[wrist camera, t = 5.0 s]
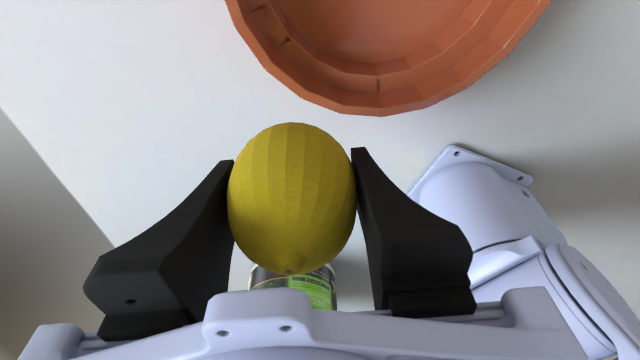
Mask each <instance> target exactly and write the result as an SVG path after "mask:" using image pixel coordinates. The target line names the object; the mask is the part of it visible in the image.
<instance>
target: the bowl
mask: <svg viewBox="0 0 640 360" xmlns="http://www.w3.org/2000/svg"><path fill="white" fill-rule="evenodd" d="M225 2H226V5H227V8H228V10H229V13H230V16H231V19H232V21H233V24H234V26H235V28H236V30H237V31H238V32H239V34H240V35H241V37H242V38H243V39H244V41H245V42H246V44H247V45H248V47H249V48H250V49H251V51H252V52H253V54H254V55H255V56H256V58H257V59H258V61H259V62H260V63H261V65H262V66H263V68H264V69H265V70H266V71H267V72H269V73H270V74H271V75H272V76H274V77H275V78H276V79H277V80H279V81H280V82H281V83H283V84H284V85H285V86H286V87H288V88H289V89H290V90H291V91H293V92H294V93H295V94H297V95H298V96H299V97H300V98H302V99H304V100H307V101H309V102H312V103H314V104H317V105H320V106H322V107H325V108H327V109H330V110H333V111H335V112H338V113H342V114H351V115H364V116H377V117H382V116H383V117H385V116H390V115H395V114H400V113H405V112H410V111H415V110H420V109H424V108H427V107H429V106H431V105H433V104H435V103H438V102H440V101H442V100H444V99H446V98H448V97H450V96H452V95H454V94H456V93H458V92H460V91H462V90H464V89H467V88H468V87H469V86H471V85H472V84H473V83H474V82H476V81H477V80H478V79H479V78H481V77H482V76H483V75H484V74H486V73H487V72H488V71H489V70H490V69H492V68H493V67H494V66H495V65H497V64H498V63H499V62H500V61H502V60H503V59H504V58H505V57H507V56H508V55H509V53H511V52H512V51H513V49H514V48H515V47H516V46H517V44H518V43H519V42H520V41H521V39H522V38H523V37H524V36H525V34H526V33H527V32H528V31H529V30H530V28H531V27H532V26H533V25H534V23H535V22H536V21H537V20H538V18H539V17H540V16H541V15H542V13H543V12H544V11H545V10H546V8H547V7H548V5H549V4H550V2H551V0H225Z"/></svg>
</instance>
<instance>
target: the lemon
mask: <svg viewBox="0 0 640 360" xmlns="http://www.w3.org/2000/svg"><path fill="white" fill-rule="evenodd" d="M357 201H358V190H357V184H356V179H355V174H354V169H353V166H352V164H351V162H350V160H349V158H348V156H347V154H346V153H345V151H344V149H343V148H342V146H341V145H340V144H339V143H338V142H337V141H336V140H335V139H334V138H333V137H332V136H331V135H329V134H328V133H327V132H325V131H323V130H321V129H319V128H318V127H315V126H312V125H308V124H305V123H294V122H289V123H283V124H277V125H274V126H272V127H270V128H267V129H265V130H263V131H261V132H260V133H259V134H258V135H256V136H255V137H254V138H252V139H251V140H250V141H249V142H248V143H247V144H246V146H245V147H244V149H243V150H242V151H241V153H240V154H239V156H238V157H237V159H236V161H235V163H234V166H233V169H232V172H231V176H230V179H229V182H228V187H227V210H228V221H229V226H230V229H231V232H232V234H233V237H234V239H235V241H236V243H237V245H238V247H239V248H240V249H241V250H242V252H243V253H244V254H245V255H246V256H247V257H248V258H249V259H250V260H251V261H253V262H254V263H256V264H257V265H258V266H260V267H261V268H264V269H266V270H268V271H270V272H274V273H278V274H282V275H286V276H294V275H300V274H305V273H309V272H312V271H314V270H317V269H319V268H321V267H322V266H324V265H326V264H327V263H329V262H330V261H331V260H333V259H334V258H335V257H336V256H337V255H338V254H339V253H340V252H341V251H342V249H343V248H344V246H345V245H346V243H347V241H348V239H349V237H350V235H351V233H352V230H353V227H354V223H355V217H356V210H357Z"/></svg>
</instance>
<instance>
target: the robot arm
mask: <svg viewBox="0 0 640 360" xmlns="http://www.w3.org/2000/svg"><path fill="white" fill-rule="evenodd" d="M457 151H459V152H458V153H456V154H454V153H455V152H457ZM351 164H352V166H353V169H354V174H355V179H356V184H357V190H358V201H357V211H358V215H359V219H360V223H361V227H362V231H363V234H364V239H365V243H366V249H367V256H368V263H369V270H370V277H371V284H372V291H373V299H374V306H375V311H362V312H342V311H332V310H322V309H313V307H312V302H311V299H310V298H309V297H308V295H307V294H306V293H305V292H303V291H301V290H298V289H296V288H286V287H280V288H268V289H255V290H243V291H230V292H227V291H228V281H229V272H230V264H231V256H232V251H233V246H234V242H235V239H234V237H233V234H232V232H231V229H230V226H229V221H228V210H227V187H228V182H229V179H230V176H231V172H232V169H233V166H234V161H233V160H223V161H220V162H219V163H218V164H217V165H216V166H215V167H214V168H213V170H212V171H211V172H210V173H209V174H208V175H207V177H206V178H205V179H204V180H203V181H202V182H201V183H200V184H199V185H198V187H197V188H196V189H195V190H194V191H193V192H192V193H191V194H190V195H189V196H188V197H187V198H186V199H185V200H184V201H183V202H182V203H181V204H180V205H178V206H177V207H176V208H175V209H174V210H173V211H171V212H170V213H169V214H168V215H167V216H165V217H164V218H163V219H161V220H160V221H159V222H157V223H156V224H154V225H153V226H152V227H150V228H149V229H147V230H146V231H144V232H143V233H141V234H140V235H138V236H137V237H135V238H133V239H132V240H130V241H128V242H126V243H125V244H123V245H121V246H119V247H117V248H115V249H113V250H111V251H109V252H107V253H106V254H104V255H102V256H100V257H99V259H98V260H97V262H96V264H95V265H94V267H93V269H92V270H91V272H90V274H89V276H88V277H87V279H86V281H85V282H84V285H83V291H84V293H85V295H86V296H87V297H88V299H90V301H92V303H94V304H95V305H96V306H97V307H98V308H99V309H100V310H101V311H102V312H103V313H104V314H106V316H105V318H104V320H103V322H102V324H101V326H100V328H99V330H98V332H87V333H84V331H83V330H82V329H81V328H80V327H79V326H77V325H75V324H71V323H60V324H48V325H41V326H39V327H38V328H37V330H36V332H35V333H34V335H33V336H32V338H31V339H30V341H29V343H28V344H27V346H26V347H25V349H24V351H23V352H22V354H21V355H20V357H19V358H18V360H601V359H604V358H607V357H610V356H613V355H616V354H618V357H617V358H615V359H613V360H640V321H639V319H638V318H637V316H636V315H635V313H634V312H633V311H632V309H631V308H630V307H629V305H628V304H627V303H626V301H625V300H624V299H623V298H622V296H621V295H620V294H619V293H618V292H617V290H616V289H615V288H614V287H613V286H612V285H611V283H610V282H609V281H608V280H607V279H606V278H605V277H604V276H603V274H602V273H601V272H600V271H599V270H598V269H597V268H596V267H595V266H594V265H593V264H592V263H591V262H590V261H589V260H588V259H587V258H586V257H585V256H584V255H582V254H581V253H580V252H579V251H578V250H576V249H575V248H573V247H572V246H568V245H567V242H566V239H565V237H564V236H563V234H562V233H561V231H560V230H559V229H558V227H557V226H556V225H555V223H554V222H553V221H552V220H551V218H550V217H549V216H548V214H547V213H546V212H545V210H544V209H543V208H542V207H541V205H540V204H539V203H538V201H537V200H536V199H535V197H534V196H533V195H532V194H531V192H530V191H529V190H528V188H527V187H528V186H530V185H531V184H532V183H533V182H534V178H533V177H532V176H531V175H529V174H526V173H524V172H521V171H519V170H516V169H514V168H511V167H509V166H506V165H504V164H501V163H499V162H496V161H494V160H491V159H489V158H486V157H484V156H481V155H479V154H476V153H474V152H471V151H469V150H466V149H464V148H461V147H459V146H456V145H449V146H447V147H446V148H445V150H444V151H443V152H442V153H441V154H440V156H439V157H438V158H437V159H436V160H435V162H434V163H433V164H432V165H431V167H430V168H429V169H428V170H427V171H426V173H425V174H424V175H423V176H422V177H421V179H420V180H419V181H418V182H417V183H416V185H415V186H414V187H413V188H412V189H411V191H410V192H409V193H408V194H407V195H406V194H405V193H403V192H402V191H401V190H400V189H399V188H398V187H397V186H396V185H395V184H394V183H393V182H392V181H391V180H390V179H389V178H388V177H387V176H386V175H385V174H384V172H383V171H382V170H381V169H380V168H379V167H378V165H377V164H376V163H375V161H374V160H373V159H372V157H371V156H370V154H369V152H368V151H367V149H366V148H365V147H358V148H351ZM518 177H519V178H518Z"/></svg>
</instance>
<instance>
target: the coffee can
mask: <svg viewBox="0 0 640 360" xmlns="http://www.w3.org/2000/svg"><path fill="white" fill-rule="evenodd" d="M335 277H336V276H335V271H334V269H333V267H332V266H331V265H330V264H329V263H327V264H326V265H324V266H322V267H321V268H319V269H317V270H314V271H312V272H309V273H305V274H300V275H294V276H286V275H282V274H278V273H274V272H270V271H268V270H266V269H264V268H261V267H260V266H258V265H257V264H256V263H255V264H254V265H253V266H252V268H251V270H250V273H249V285H248V290H255V289H268V288H280V287H286V288H296V289H298V290H301V291H303V292H305V293H306V294H307V295H308V297H309V298H310V299H311V302H312V307H313V309H322V310H332V311H337V299H336V286H335Z"/></svg>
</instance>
